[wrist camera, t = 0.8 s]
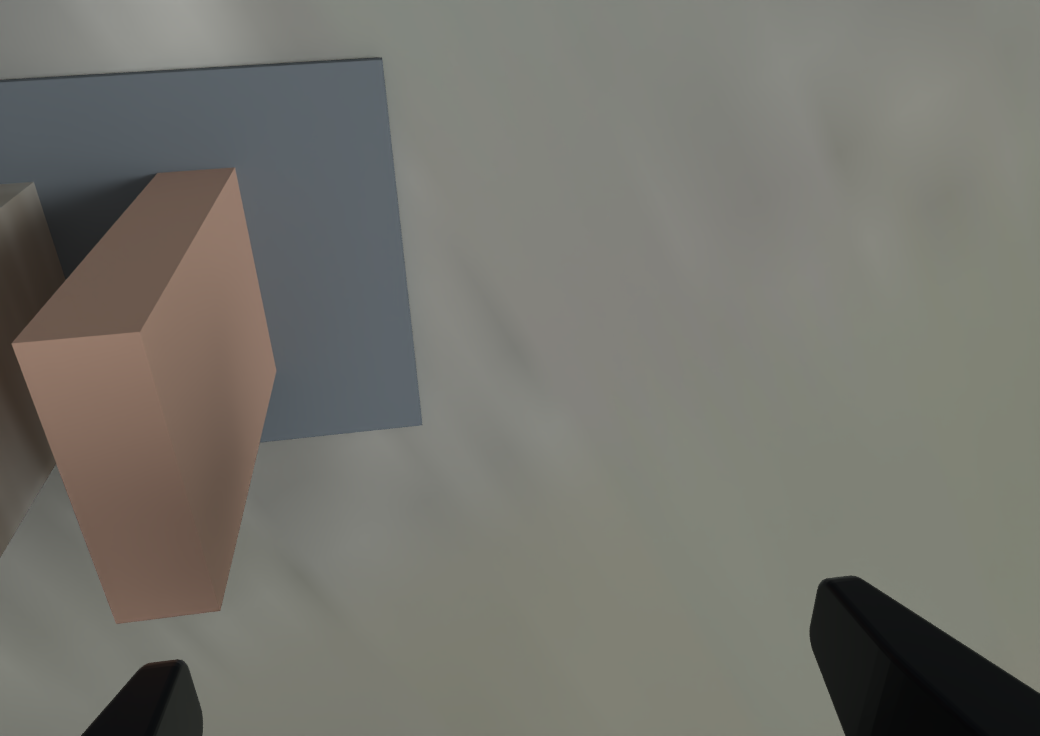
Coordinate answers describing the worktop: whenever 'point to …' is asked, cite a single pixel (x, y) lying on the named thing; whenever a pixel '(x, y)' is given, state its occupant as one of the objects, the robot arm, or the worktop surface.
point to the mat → (250, 209)
